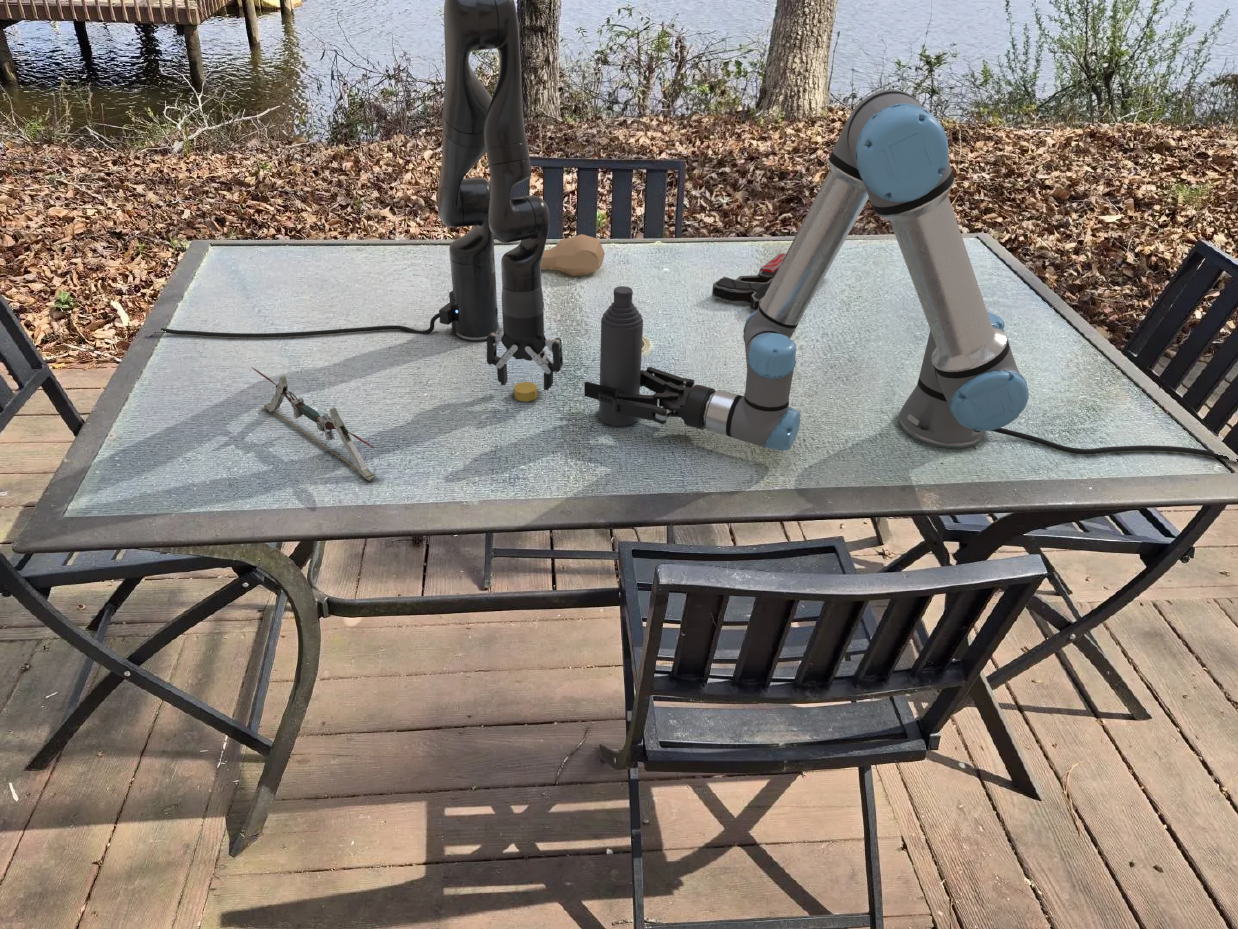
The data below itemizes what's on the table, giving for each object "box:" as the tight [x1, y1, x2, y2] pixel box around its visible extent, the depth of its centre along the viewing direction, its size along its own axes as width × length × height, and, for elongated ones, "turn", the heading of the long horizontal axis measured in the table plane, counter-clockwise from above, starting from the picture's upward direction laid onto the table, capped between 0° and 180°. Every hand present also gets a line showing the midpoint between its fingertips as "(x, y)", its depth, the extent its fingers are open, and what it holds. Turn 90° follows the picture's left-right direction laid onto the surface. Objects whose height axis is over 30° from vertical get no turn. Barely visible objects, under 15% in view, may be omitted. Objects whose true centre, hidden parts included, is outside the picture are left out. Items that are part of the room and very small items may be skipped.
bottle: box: [598, 285, 644, 427], centre depth 157 cm, size 7×7×25 cm
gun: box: [711, 252, 787, 313], centre depth 215 cm, size 4×31×19 cm
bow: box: [250, 366, 376, 482], centre depth 151 cm, size 39×2×10 cm, turn 47°
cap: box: [513, 381, 538, 402], centre depth 169 cm, size 4×4×2 cm
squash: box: [541, 233, 606, 277], centre depth 222 cm, size 11×20×9 cm, turn 90°
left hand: (525, 386), depth 169 cm, fingers open, 8 cm apart
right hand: (596, 379), depth 162 cm, fingers closed on bottle, 7 cm apart
